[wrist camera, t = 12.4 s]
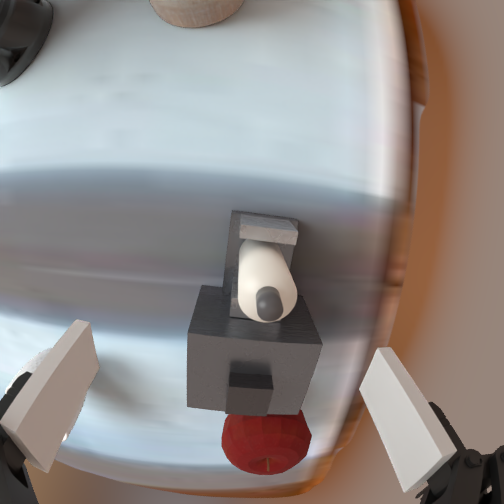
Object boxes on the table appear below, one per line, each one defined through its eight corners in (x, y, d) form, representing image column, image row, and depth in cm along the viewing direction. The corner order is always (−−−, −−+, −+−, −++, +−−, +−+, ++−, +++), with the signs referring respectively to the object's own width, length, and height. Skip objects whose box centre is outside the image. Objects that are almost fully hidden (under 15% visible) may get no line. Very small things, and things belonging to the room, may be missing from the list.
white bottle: (241, 231, 30) (241, 276, 18) (283, 237, 30) (308, 284, 19) (236, 271, 31) (234, 333, 20) (276, 275, 31) (295, 339, 20)
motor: (208, 207, 30) (188, 236, 19) (317, 222, 31) (358, 256, 20) (197, 368, 37) (185, 435, 26) (282, 376, 38) (294, 442, 26)
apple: (307, 409, 41) (324, 476, 28) (240, 426, 41) (241, 492, 29) (289, 360, 37) (307, 438, 24) (210, 381, 38) (203, 458, 25)
